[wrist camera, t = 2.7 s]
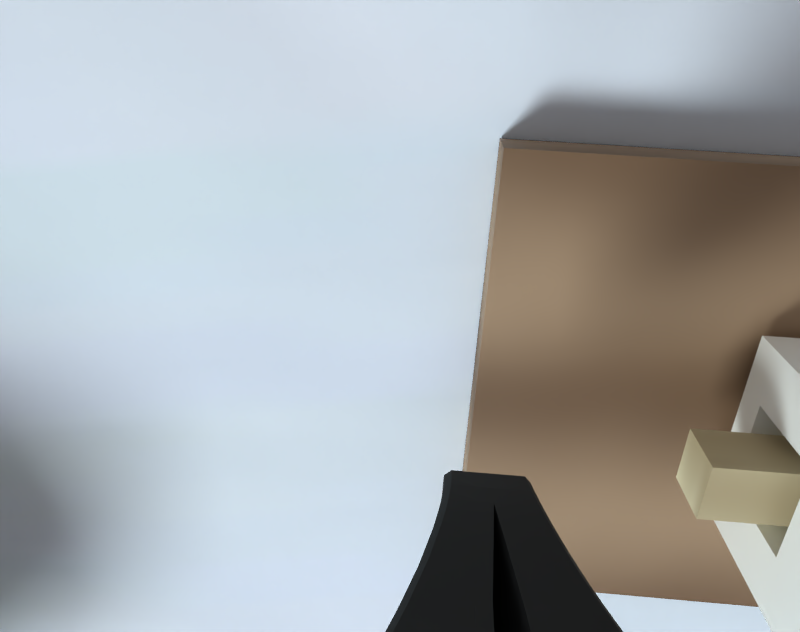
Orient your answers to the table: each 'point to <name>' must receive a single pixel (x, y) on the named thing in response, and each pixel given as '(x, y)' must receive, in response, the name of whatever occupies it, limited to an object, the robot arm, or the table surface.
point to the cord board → (637, 353)
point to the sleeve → (796, 545)
